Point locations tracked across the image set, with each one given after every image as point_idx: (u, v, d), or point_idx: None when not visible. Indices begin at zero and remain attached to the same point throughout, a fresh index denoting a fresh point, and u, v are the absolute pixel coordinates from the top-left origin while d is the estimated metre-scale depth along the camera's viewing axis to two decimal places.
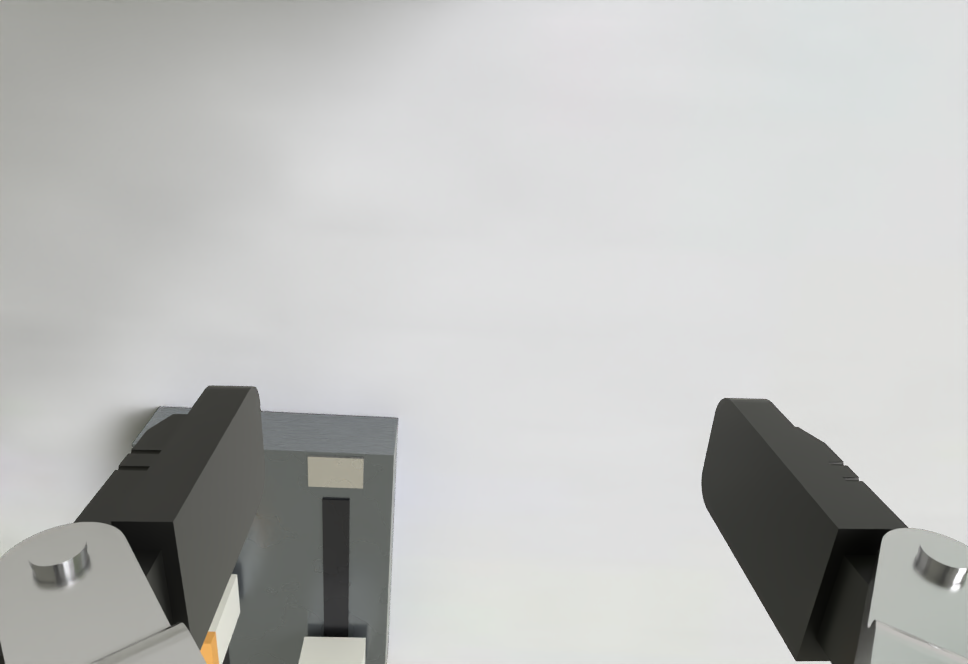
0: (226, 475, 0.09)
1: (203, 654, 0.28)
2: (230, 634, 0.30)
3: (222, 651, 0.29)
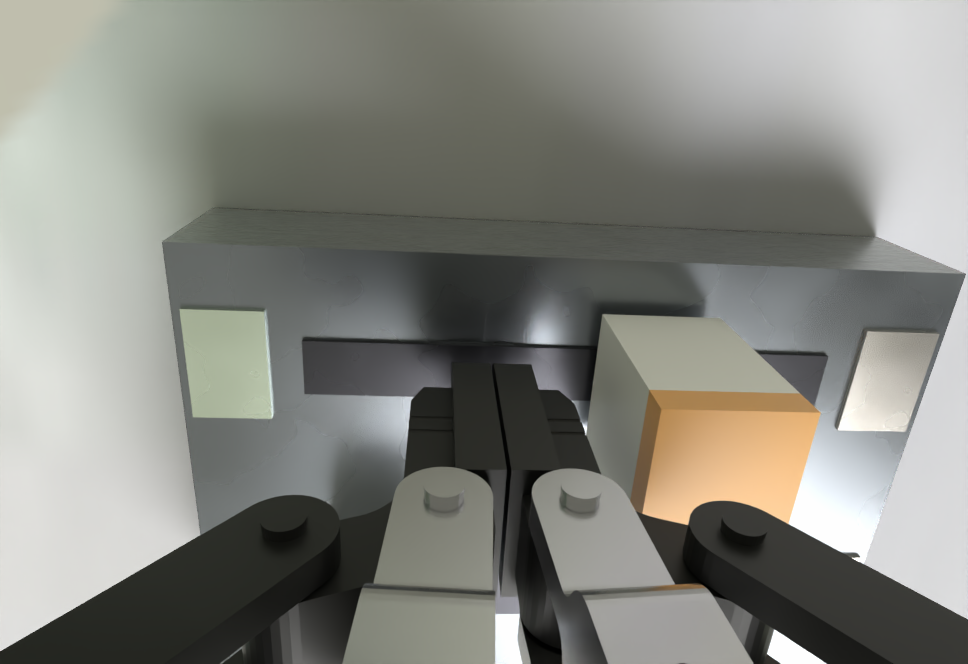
0: None
1: None
2: None
3: None
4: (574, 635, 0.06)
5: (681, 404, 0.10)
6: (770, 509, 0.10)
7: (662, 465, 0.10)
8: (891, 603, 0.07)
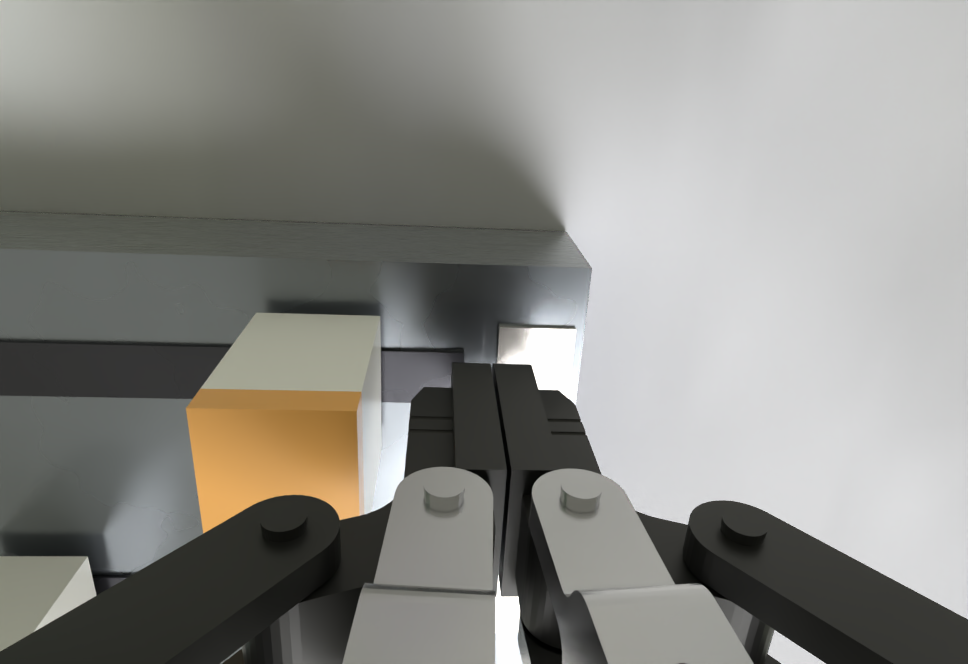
0: None
1: None
2: None
3: None
4: (575, 636, 0.06)
5: (216, 402, 0.10)
6: None
7: (205, 466, 0.10)
8: (892, 603, 0.07)
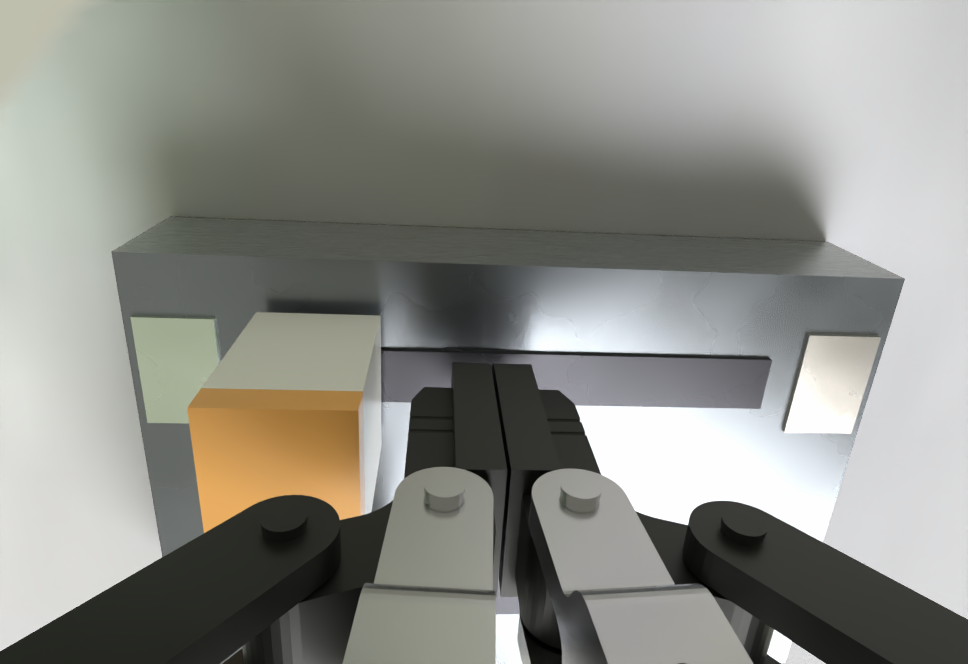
0: None
1: None
2: None
3: None
4: (574, 635, 0.06)
5: (217, 401, 0.10)
6: (335, 509, 0.10)
7: (206, 465, 0.10)
8: (892, 602, 0.07)
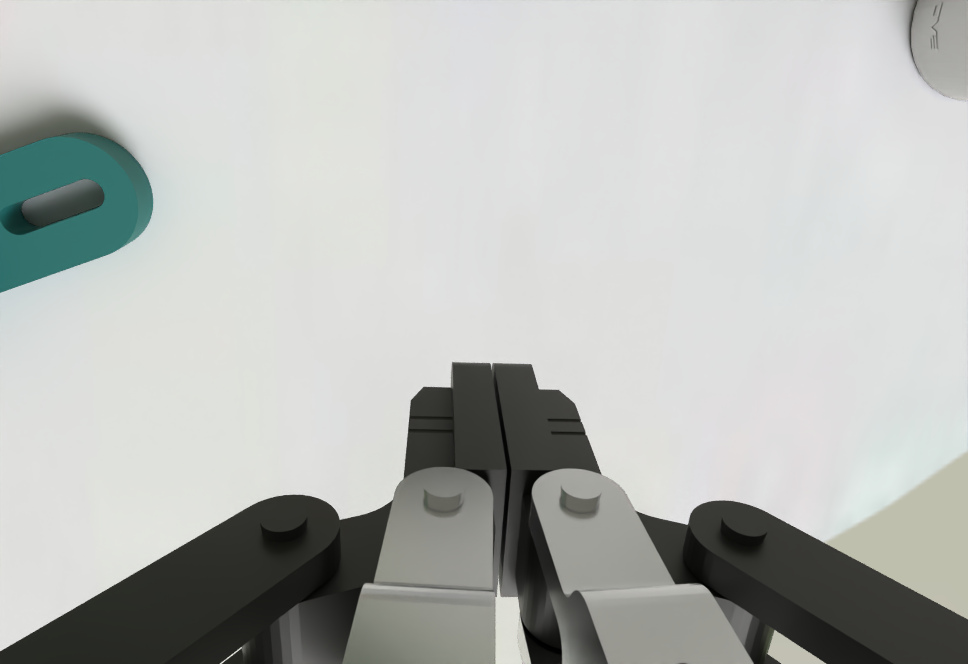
0: None
1: None
2: None
3: None
4: (574, 635, 0.06)
5: None
6: None
7: None
8: (892, 603, 0.07)
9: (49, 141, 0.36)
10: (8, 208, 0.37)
